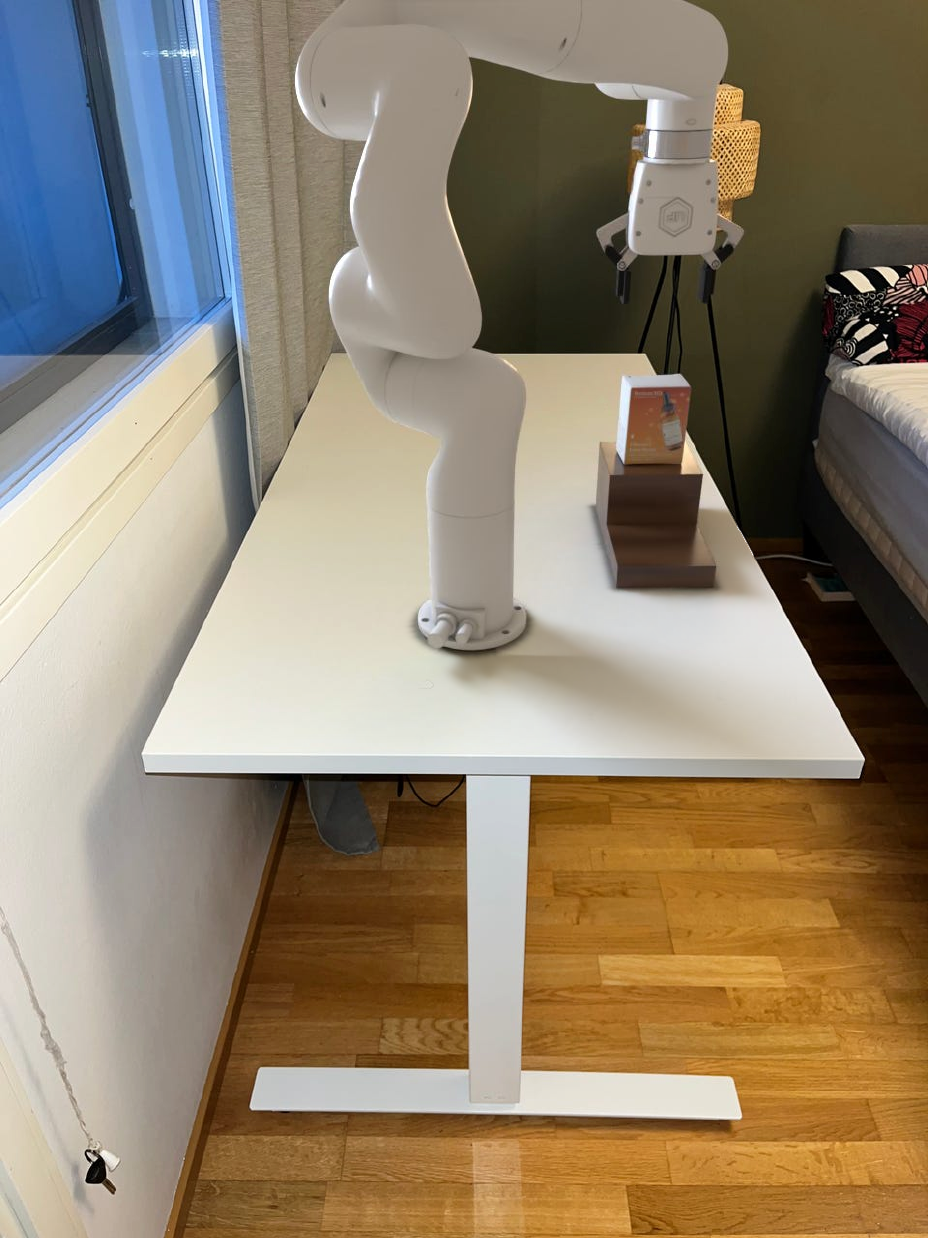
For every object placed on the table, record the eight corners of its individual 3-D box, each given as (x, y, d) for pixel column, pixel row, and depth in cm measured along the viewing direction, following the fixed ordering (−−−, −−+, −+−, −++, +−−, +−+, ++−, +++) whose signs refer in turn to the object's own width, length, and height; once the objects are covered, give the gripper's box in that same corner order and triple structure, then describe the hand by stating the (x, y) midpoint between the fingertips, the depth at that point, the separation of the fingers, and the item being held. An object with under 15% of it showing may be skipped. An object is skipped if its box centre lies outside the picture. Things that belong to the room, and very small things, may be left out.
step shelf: (713, 587, 117) (723, 513, 112) (616, 588, 117) (621, 514, 112) (678, 506, 137) (685, 440, 132) (595, 507, 138) (599, 441, 132)
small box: (623, 466, 125) (629, 387, 119) (615, 450, 129) (620, 374, 124) (683, 464, 125) (692, 385, 119) (673, 448, 130) (681, 372, 124)
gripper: (605, 151, 105) (596, 309, 114) (762, 148, 104) (741, 308, 113) (597, 145, 111) (590, 295, 120) (746, 142, 111) (727, 294, 120)
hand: (663, 301), depth 117 cm, fingers open, 9 cm apart
